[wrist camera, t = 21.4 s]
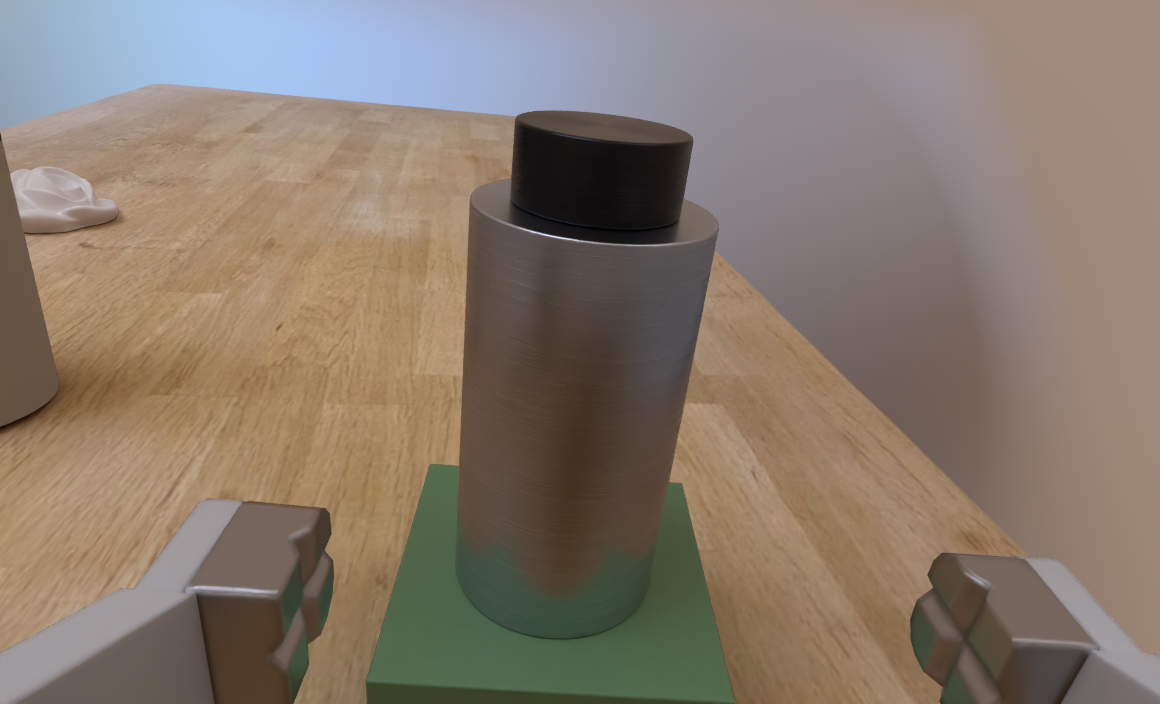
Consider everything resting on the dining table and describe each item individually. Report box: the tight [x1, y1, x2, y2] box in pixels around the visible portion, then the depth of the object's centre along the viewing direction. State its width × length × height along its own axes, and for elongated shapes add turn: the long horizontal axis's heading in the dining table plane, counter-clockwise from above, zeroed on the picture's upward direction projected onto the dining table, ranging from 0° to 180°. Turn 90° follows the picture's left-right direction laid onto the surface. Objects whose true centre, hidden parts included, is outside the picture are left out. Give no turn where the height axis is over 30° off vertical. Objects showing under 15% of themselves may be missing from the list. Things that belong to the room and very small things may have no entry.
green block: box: [366, 464, 735, 704], centre depth 25 cm, size 10×10×5 cm
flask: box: [455, 111, 719, 639], centre depth 21 cm, size 6×6×14 cm
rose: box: [10, 166, 119, 233], centre depth 62 cm, size 10×4×10 cm
